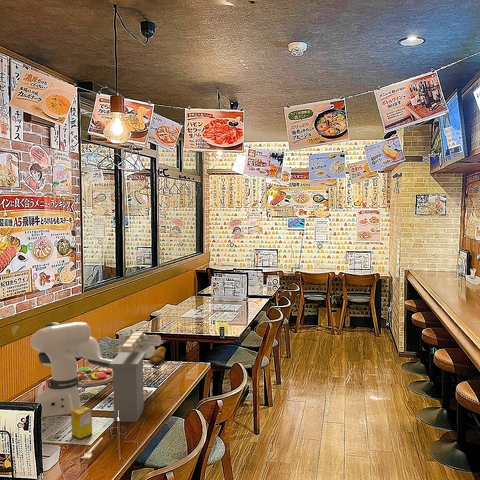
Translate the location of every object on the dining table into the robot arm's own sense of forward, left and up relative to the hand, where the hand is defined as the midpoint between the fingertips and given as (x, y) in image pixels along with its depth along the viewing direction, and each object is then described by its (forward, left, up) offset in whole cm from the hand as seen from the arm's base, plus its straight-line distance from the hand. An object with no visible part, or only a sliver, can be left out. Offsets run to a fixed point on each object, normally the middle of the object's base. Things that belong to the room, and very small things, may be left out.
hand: (137, 335), depth 244 cm
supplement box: (-32, -26, -32) cm, 52 cm away
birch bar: (-5, -8, -2) cm, 9 cm away
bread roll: (+30, +58, -32) cm, 73 cm away
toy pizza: (-12, +45, -32) cm, 57 cm away
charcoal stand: (-9, -15, -32) cm, 36 cm away
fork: (-31, -40, -32) cm, 60 cm away
